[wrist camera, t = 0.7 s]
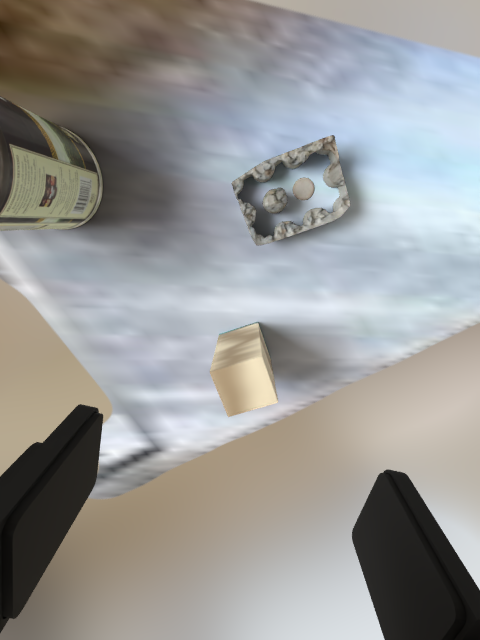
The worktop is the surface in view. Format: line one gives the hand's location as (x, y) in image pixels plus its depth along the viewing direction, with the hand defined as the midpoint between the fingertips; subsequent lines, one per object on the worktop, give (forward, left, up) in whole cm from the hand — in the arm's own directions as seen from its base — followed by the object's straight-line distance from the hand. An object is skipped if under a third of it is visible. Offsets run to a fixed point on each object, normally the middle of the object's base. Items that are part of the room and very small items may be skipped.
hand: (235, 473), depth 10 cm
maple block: (+2, +6, -27) cm, 28 cm away
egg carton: (-8, -8, -27) cm, 30 cm away
